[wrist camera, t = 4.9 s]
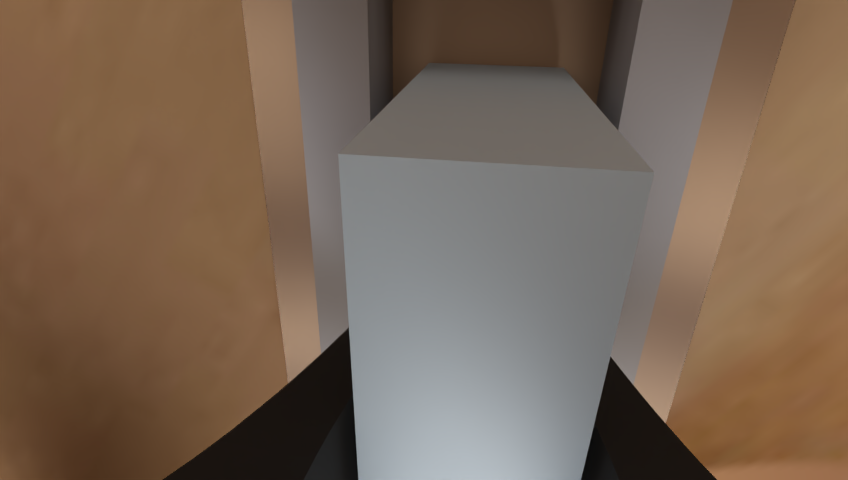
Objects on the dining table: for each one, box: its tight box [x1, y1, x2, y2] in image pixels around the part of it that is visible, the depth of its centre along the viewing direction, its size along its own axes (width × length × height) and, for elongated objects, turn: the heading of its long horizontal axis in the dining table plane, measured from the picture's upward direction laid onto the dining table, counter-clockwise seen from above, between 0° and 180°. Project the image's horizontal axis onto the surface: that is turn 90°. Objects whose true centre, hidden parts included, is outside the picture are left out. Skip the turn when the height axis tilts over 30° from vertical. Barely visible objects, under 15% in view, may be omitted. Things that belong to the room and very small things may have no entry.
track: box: [241, 0, 796, 423], centre depth 11 cm, size 16×10×3 cm, turn 179°
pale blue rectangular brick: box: [338, 63, 654, 480], centre depth 9 cm, size 10×2×6 cm, turn 178°
